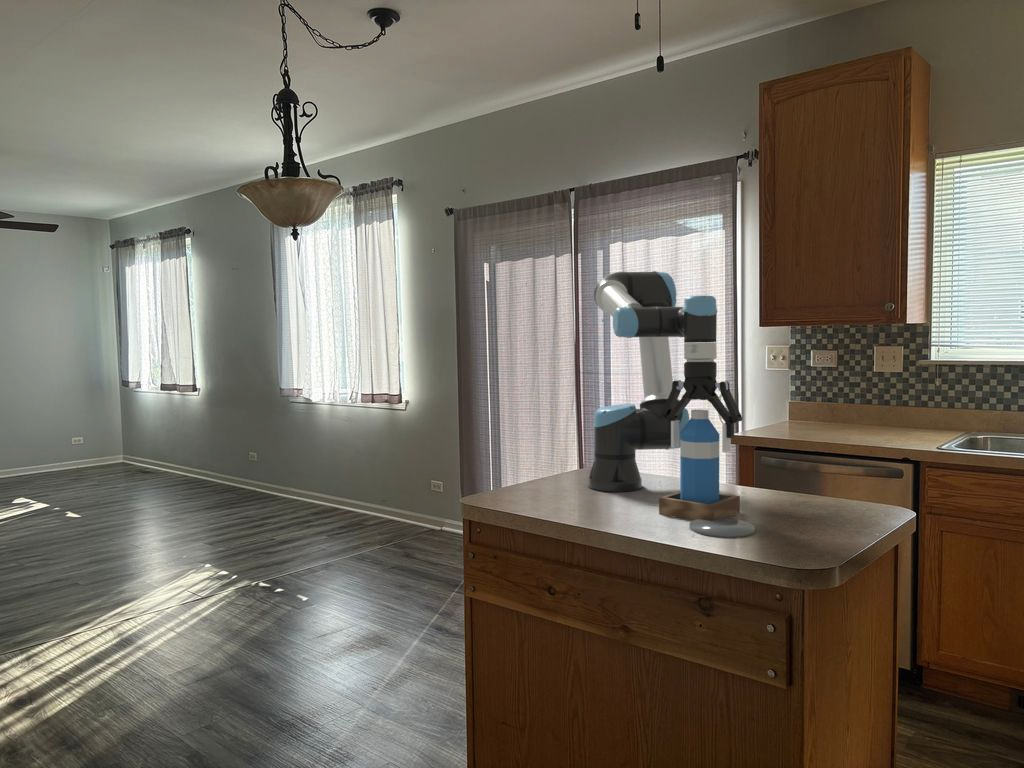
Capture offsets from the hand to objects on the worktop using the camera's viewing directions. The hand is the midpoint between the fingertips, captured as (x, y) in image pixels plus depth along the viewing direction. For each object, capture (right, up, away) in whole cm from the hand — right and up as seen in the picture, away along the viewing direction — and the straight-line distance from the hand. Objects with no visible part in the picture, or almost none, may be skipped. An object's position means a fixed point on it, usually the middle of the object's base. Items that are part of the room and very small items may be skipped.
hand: (700, 449), depth 175 cm
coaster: (+1, -16, -14) cm, 21 cm away
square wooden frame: (0, -16, +1) cm, 16 cm away
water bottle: (0, -16, +1) cm, 16 cm away
